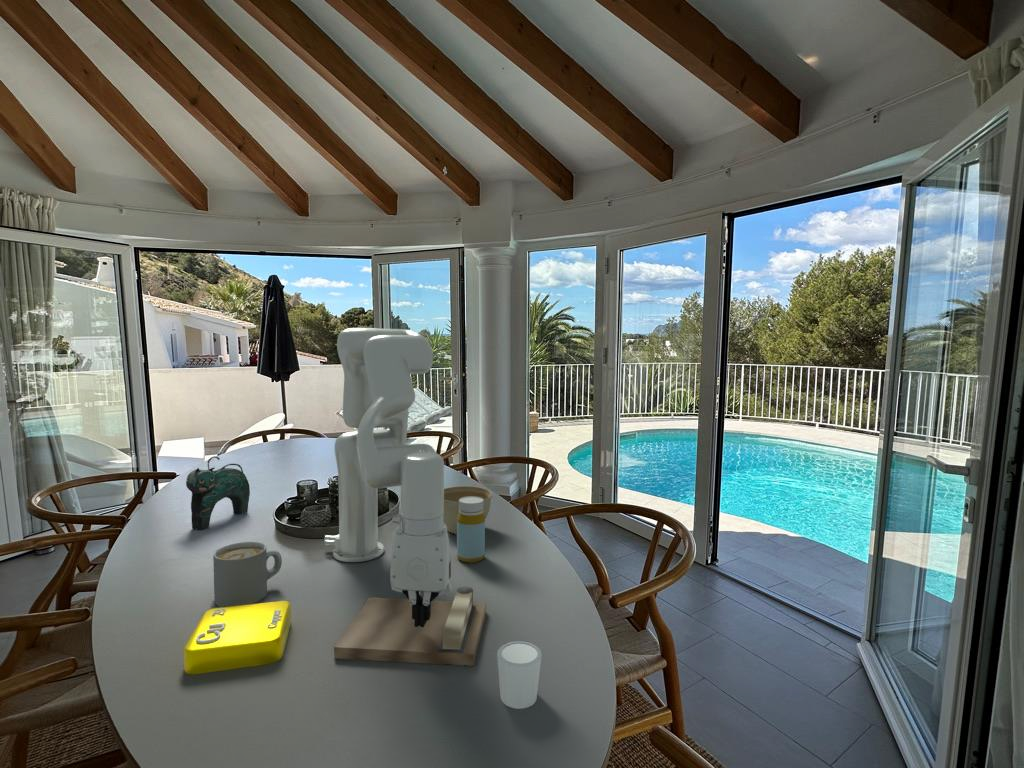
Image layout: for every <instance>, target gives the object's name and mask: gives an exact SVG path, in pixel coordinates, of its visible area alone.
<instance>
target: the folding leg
mask: <svg viewBox="0 0 1024 768" xmlns="http://www.w3.org/2000/svg"><path fill="white" fill-rule="evenodd" d="M452 601H453V604H452V607H451V610H450V613H449V616H448V618H447V621H446V624H445V627H444V630H443V649H453V650H460V649H461V645H462V642H463V638H464V634H465V630H466V627H467V623H468V619H469V616H470V612H471V608H472V606H473V602H474V589H473V587H471V586H461V587H458V588H457V589H456V593H455V596H454V599H453V600H452Z"/></svg>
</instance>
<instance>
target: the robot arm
mask: <svg viewBox="0 0 1024 768" xmlns="http://www.w3.org/2000/svg"><path fill="white" fill-rule="evenodd" d="M336 343H337V345H336V347H337V354H338V358H339V362H340V364H341V367H342V370H343V374H344V375H343V393H342V394H343V395H342V400H343V401H342V418H343V422H344V424H345V425H346V426H347V427H348V428H351V429H356V430H351V431H347V432H344V433H342V434H340V435H339V436H337V438H336V439H335V442H334V456H335V463H336V468H337V478H338V479H337V480H338V534H337V535H332V534H330V535H329V534H325V535H324V539H323V542H324V546H333V547H334V548H333V550H332V557H333V558H334V559H336V560H337V561H339V562H343V563H362V562H369V561H371V560H374V559H376V558H379V557H381V556H382V554H384V552H385V545H384V544H383V543H381V542H380V541H378V540H379V538H378V535H379V533H378V525H379V523H378V522H379V520H378V518H379V517H378V515H379V514H378V509H379V508H378V507H379V506H378V505H379V504H378V503H379V502H378V501H379V500H378V499H379V498H378V497H379V496H378V495H379V494H378V489H386V488H387V489H388V488H393V487H400V513H399V514H394V515H393V516H392V523H394V524H398V526H399V528H398V529H397V530H395V535H394V538H393V542H392V543H393V544H392V550H391V551H392V552H391V560H390V561H391V562H390V574H389V577H390V578H389V581H390V582H389V583H390V586H391V590H392V591H395V592H398V593H402V594H403V595H404V596H405V597H406V599H409V601H410V604H412V619H415V627H418V626H419V625H420V627H424V626H425V624H426V622H427V620H429V619H430V615H431V601H433V600H435V599H436V598H437V597H438V596H445V595H450V594H451V592H452V589H453V587H452V582H451V578H452V556H451V555H452V554H451V547H450V539H449V534H448V533H449V532H448V530H447V528H445V527H444V525H445V524H444V489H445V461H444V458H443V456H441V455H440V454H438V453H437V451H436V450H435V449H434V447H433V446H432V445H430V444H428V443H414V444H413V443H412V444H407V438H408V437H407V435H408V434H407V433H408V425H409V424H408V423H409V409H410V408H411V407H412V406H413V405H414V403H415V400H416V392H415V389H414V384H413V382H412V377H411V375H422V374H426V373H429V372H430V371H431V369H432V367H433V362H434V356H433V355H434V353H433V349H432V346H431V344H430V343H429V341H428V339H427V338H426V337H425V335H422V334H420V333H418V332H415V331H413V330H411V329H403V328H401V329H400V328H379V327H349V328H346V329H343V330H342V331H341V332H340V333H339V334H338V336H337V341H336ZM382 428H383V429H382ZM421 592H423V596H421Z"/></svg>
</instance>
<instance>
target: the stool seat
mask: <svg viewBox="0 0 1024 768" xmlns="http://www.w3.org/2000/svg"><path fill="white" fill-rule="evenodd" d="M453 601H454V600H452V601H451V600H435V599H434V600H433V601H431V615H430V619H429V620H427V622H426V624H425V626H424V627H420V625H419V626H418V627H415V619H412V604H410V601H409V599H408V598H392V597H391V598H390V597H386V598H385V597H368V599H367V600H366V601H365V603H364V604H363V605H362V607H361V609H360V610H359V612H358V613H357V614H356V615H355V617H354V618H353V619H352V621H351V622H350V623H349V625H348V626H347V628H346V629H345V631H344V633H343V634H342V635H341V637H339V640H338V641H337V642H336V644H335V645H334V647H333V657H334V659H338V660H339V659H340V660H356V661H359V660H360V661H376V662H392V663H393V662H394V663H396V662H397V663H411V664H413V663H414V664H415V663H416V664H429V663H430V664H431V665H445V664H451V665H450V666H464V665H468V667H474V665H475V662H476V661H475V660H476V657H477V652H478V648H479V645H480V640H481V635H482V632H483V631H482V630H483V626H484V622H485V617H486V613H487V602H474V601H473V606H472V608H471V612H470V616H469V619H468V623H467V627H466V630H465V634H464V638H463V642H462V645H461V649H460V650H453V649H443V630H444V627H445V624H446V621H447V618H448V616H449V613H450V610H451V607H452V604H453ZM474 661H475V662H474Z"/></svg>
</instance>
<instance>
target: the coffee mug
mask: <svg viewBox="0 0 1024 768" xmlns="http://www.w3.org/2000/svg"><path fill="white" fill-rule="evenodd" d="M212 556H213V559H212V560H213V561H212V562H213V588H214V589H213V590H214V591H213V594H214V595H213V596H214V598H213V599H214V604H215V605H217V606H218V607H219V608H222V607H231V606H240V605H249V604H256V603H258V602H260V601H262V600H263V599H264V598H265V597H266V596H267V595H268V581H269V579H272V578H273V577H274V576H275V575H277V573H279V571H280V570H281V568H282V564H283V563H282V561H283V559H282V555H281V553H280V551H278V550H277V549H267V546H266V544H265V543H262V542H259V541H240V542H235V543H231V544H227V545H225V546H222V547H220V548H218V549H216V550H215V551H214V553H213V555H212ZM270 557H273V561H274V563H273V567H272V568H270V569H268V566H267V564H268V563H267V562H268V559H269V558H270Z"/></svg>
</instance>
